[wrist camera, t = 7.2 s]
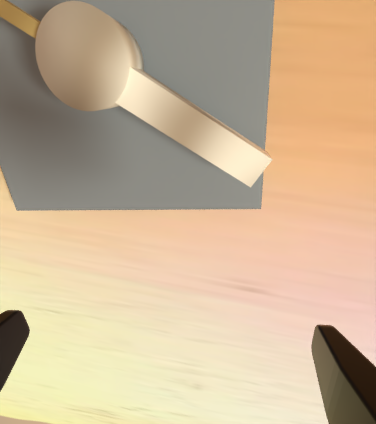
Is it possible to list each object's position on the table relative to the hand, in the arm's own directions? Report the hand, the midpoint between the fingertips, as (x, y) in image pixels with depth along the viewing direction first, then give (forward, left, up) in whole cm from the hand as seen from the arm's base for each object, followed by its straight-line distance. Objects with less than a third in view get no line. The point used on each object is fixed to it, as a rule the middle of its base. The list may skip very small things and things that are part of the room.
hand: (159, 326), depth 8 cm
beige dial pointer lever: (+5, -8, -10) cm, 14 cm away
